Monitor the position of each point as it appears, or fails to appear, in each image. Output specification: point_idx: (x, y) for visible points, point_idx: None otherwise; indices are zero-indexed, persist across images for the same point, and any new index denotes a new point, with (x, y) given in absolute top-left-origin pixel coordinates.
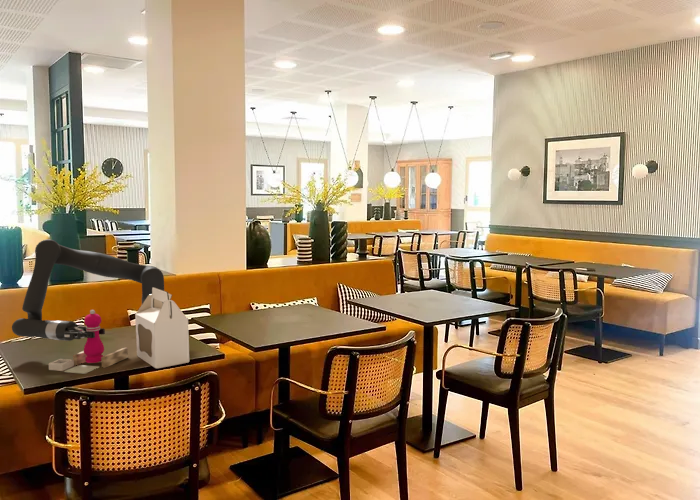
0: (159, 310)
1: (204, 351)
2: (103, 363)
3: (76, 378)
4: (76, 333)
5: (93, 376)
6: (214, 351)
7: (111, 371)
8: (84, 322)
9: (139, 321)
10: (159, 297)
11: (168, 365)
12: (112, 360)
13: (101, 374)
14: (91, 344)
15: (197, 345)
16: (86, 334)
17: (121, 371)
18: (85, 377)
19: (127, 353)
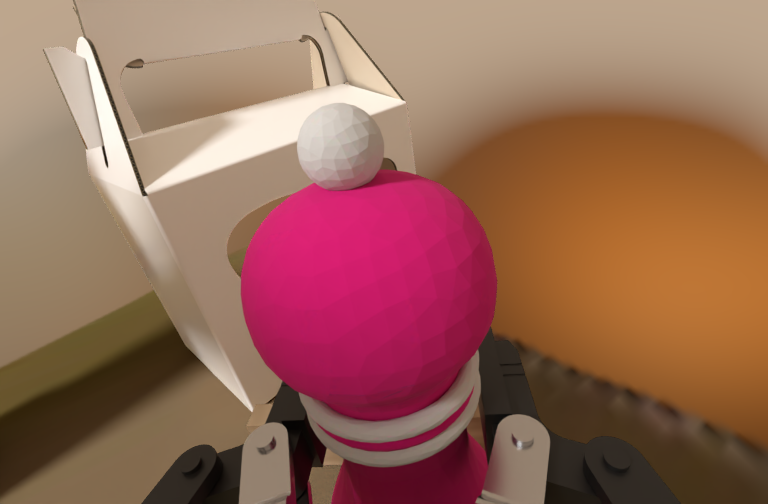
0: (239, 109)
1: (234, 264)
2: None
3: (755, 465)
4: (658, 489)
5: (642, 396)
6: (240, 249)
7: (524, 370)
8: (468, 347)
9: (244, 197)
10: (222, 27)
11: None
12: None
13: (589, 382)
14: (483, 455)
15: (145, 304)
16: (528, 400)
17: (503, 336)
18: (690, 425)
19: None
